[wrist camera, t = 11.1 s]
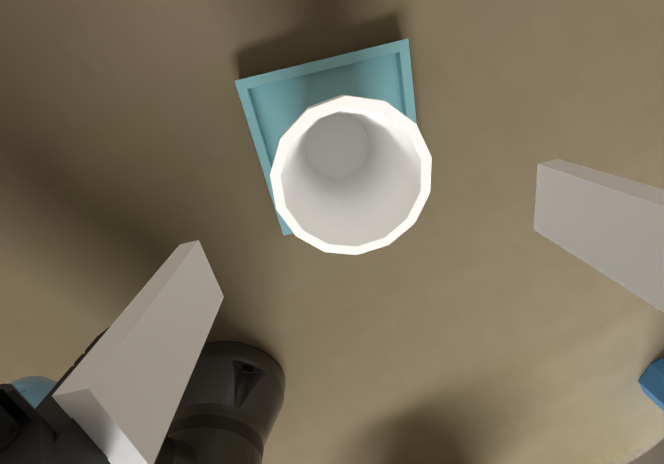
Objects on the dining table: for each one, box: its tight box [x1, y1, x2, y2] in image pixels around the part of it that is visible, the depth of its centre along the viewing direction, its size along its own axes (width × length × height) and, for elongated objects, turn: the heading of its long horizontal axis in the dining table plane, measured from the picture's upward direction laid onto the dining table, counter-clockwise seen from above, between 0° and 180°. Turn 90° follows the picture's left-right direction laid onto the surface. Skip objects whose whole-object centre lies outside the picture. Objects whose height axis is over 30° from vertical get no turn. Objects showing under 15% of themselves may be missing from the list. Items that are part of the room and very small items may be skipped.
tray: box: [235, 39, 417, 235], centre depth 30 cm, size 15×15×2 cm
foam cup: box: [270, 95, 432, 255], centre depth 24 cm, size 10×9×13 cm
